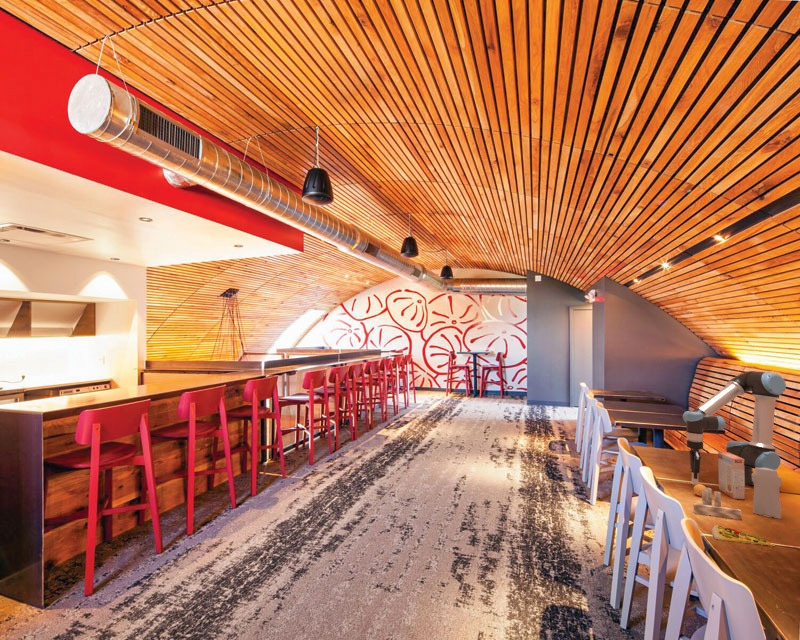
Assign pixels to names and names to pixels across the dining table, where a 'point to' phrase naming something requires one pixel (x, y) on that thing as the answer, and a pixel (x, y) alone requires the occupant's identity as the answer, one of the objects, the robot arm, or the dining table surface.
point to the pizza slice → (736, 536)
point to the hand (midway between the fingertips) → (695, 484)
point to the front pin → (709, 496)
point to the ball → (699, 489)
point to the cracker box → (731, 475)
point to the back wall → (717, 511)
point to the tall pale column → (766, 492)
